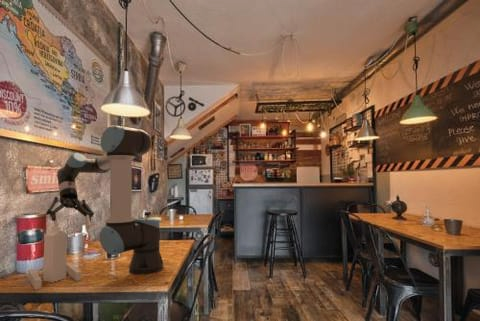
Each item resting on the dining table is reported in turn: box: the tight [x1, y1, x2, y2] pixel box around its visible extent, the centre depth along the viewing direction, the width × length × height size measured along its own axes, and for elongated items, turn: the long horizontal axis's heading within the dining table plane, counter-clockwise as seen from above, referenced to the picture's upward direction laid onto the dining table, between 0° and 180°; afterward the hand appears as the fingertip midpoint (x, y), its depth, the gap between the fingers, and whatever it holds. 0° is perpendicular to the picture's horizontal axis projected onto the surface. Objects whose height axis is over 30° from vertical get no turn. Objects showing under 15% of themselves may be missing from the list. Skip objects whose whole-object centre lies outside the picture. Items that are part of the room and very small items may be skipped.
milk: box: [42, 226, 68, 283], centre depth 125 cm, size 6×6×22 cm
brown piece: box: [27, 261, 82, 291], centre depth 125 cm, size 20×16×4 cm
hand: (73, 226), depth 134 cm, fingers open, 13 cm apart
